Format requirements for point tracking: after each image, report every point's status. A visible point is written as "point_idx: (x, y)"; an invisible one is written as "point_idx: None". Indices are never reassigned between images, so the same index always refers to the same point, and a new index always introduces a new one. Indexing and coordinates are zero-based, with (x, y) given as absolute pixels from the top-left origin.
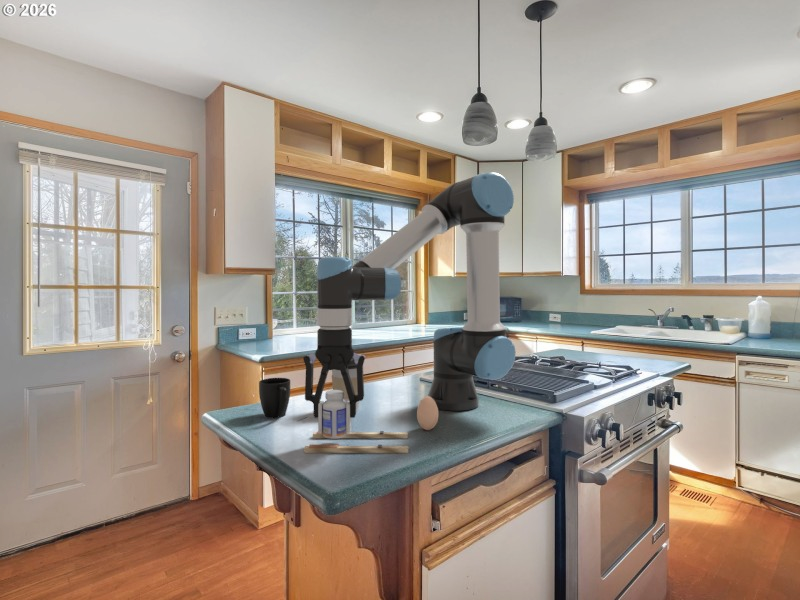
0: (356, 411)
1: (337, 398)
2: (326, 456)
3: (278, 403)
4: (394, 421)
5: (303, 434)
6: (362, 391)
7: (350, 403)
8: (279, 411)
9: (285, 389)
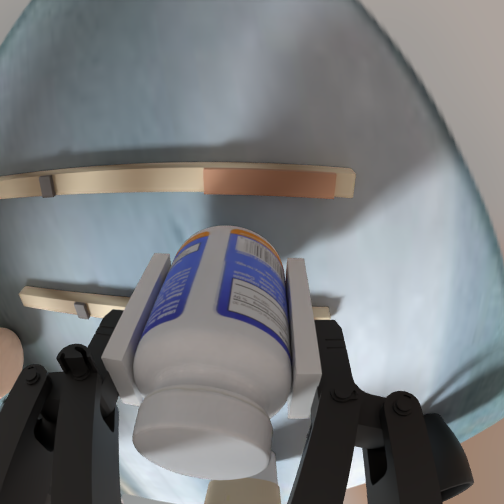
0: None
1: (164, 396)
2: (248, 124)
3: None
4: None
5: (360, 336)
6: (4, 406)
7: (87, 354)
8: None
9: None
